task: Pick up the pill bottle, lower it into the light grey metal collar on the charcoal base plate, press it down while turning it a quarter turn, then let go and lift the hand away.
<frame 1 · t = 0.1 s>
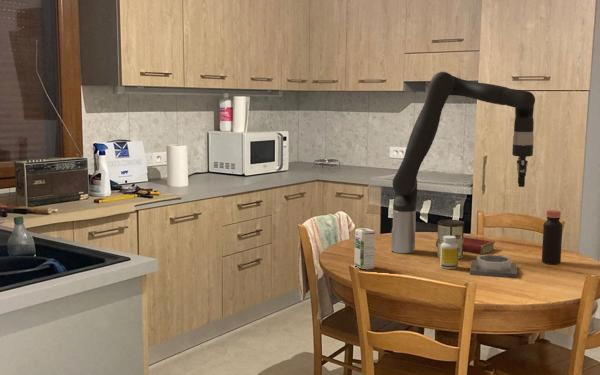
hand: (521, 185, 248), 29 cm above the table, tool pointing down, fingers open, 8 cm apart
syrup box: (364, 268, 239), on the table
pill bottle: (448, 267, 239), on the table
collar base: (493, 270, 235), on the table
coffee can: (449, 256, 257), on the table
hardcover book: (464, 249, 270), on the table
vinegar: (551, 263, 246), on the table
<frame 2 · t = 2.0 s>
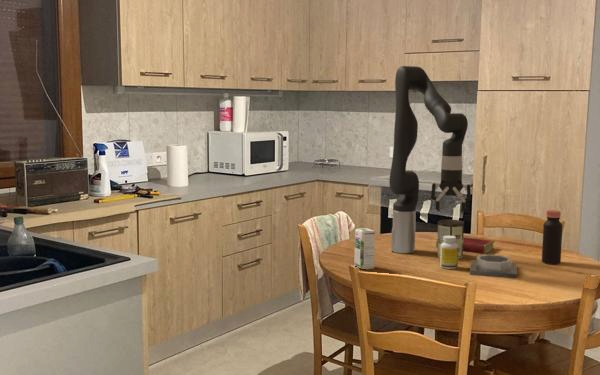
hand: (450, 211, 237), 21 cm above the table, tool pointing down, fingers open, 8 cm apart
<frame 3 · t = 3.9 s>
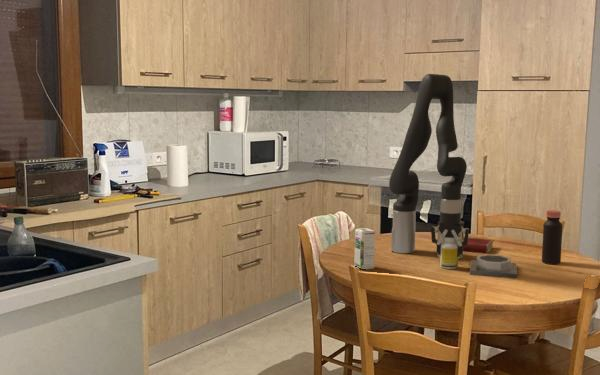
hand: (449, 254, 239), 5 cm above the table, tool pointing down, fingers closed on pill bottle, 6 cm apart
pill bottle: (448, 267, 239), on the table, touching gripper
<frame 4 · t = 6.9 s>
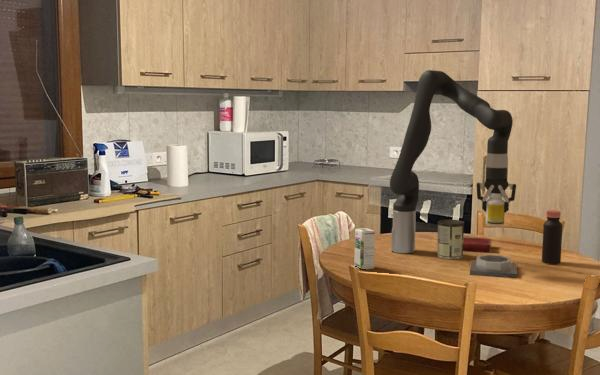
hand: (495, 211, 232), 22 cm above the table, tool pointing down, fingers closed on pill bottle, 6 cm apart
pill bottle: (494, 225, 232), point 17 cm above the table, touching gripper
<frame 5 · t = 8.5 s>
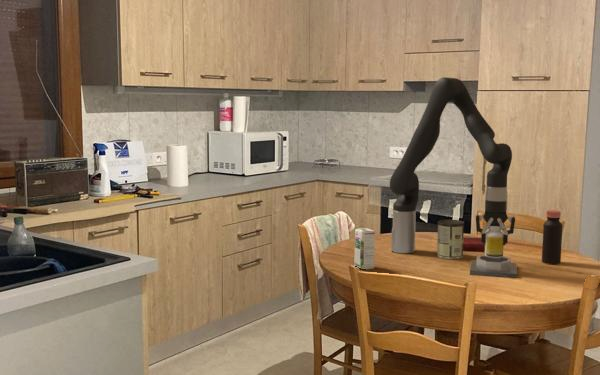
hand: (494, 243, 233), 10 cm above the table, tool pointing down, fingers closed on pill bottle, 6 cm apart
pill bottle: (493, 257, 234), point 5 cm above the table, touching gripper
when the fingers open (7 cm above the table, at t = 10.0 s): pill bottle stays where it is, resting on collar base.
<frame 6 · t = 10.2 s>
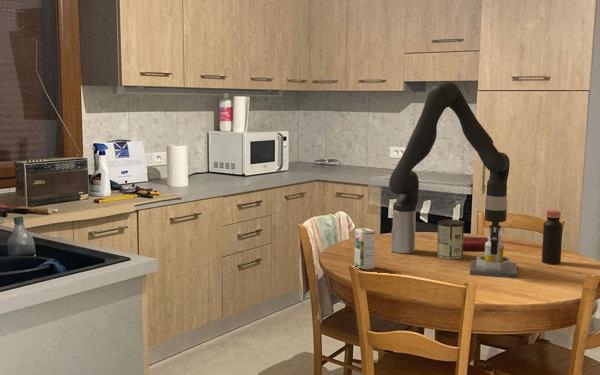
hand: (494, 251, 234), 7 cm above the table, tool pointing down, fingers open, 8 cm apart
pill bottle: (493, 267, 234), point 1 cm above the table, touching collar base
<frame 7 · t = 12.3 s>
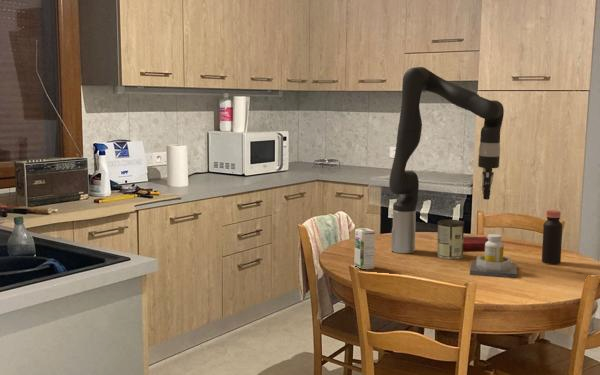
hand: (486, 197, 240), 26 cm above the table, tool pointing down, fingers open, 8 cm apart
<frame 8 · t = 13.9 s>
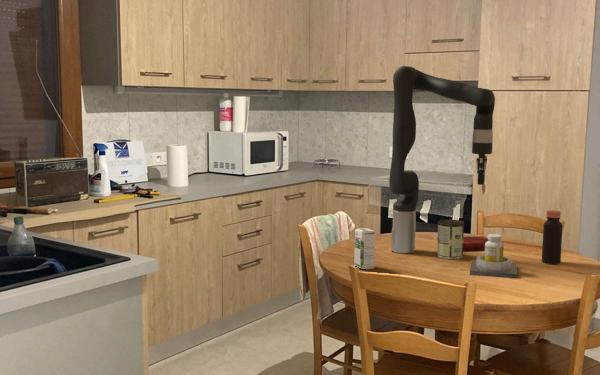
hand: (480, 183, 247), 30 cm above the table, tool pointing down, fingers open, 8 cm apart
at the end: pill bottle 0.1 cm off-centre on the collar base, point 1.3 cm above the collar base's base; pill bottle tilted 0°; the gripper is holding nothing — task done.
